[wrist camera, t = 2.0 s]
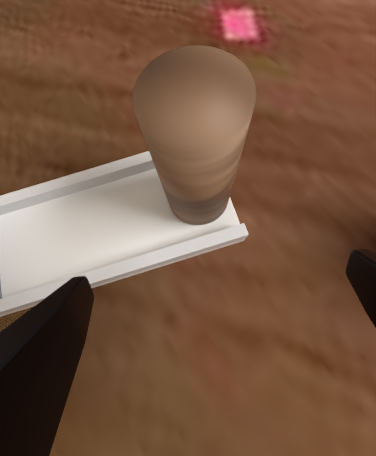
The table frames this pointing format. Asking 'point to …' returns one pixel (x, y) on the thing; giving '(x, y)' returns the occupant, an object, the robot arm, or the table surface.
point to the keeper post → (195, 126)
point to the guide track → (97, 231)
